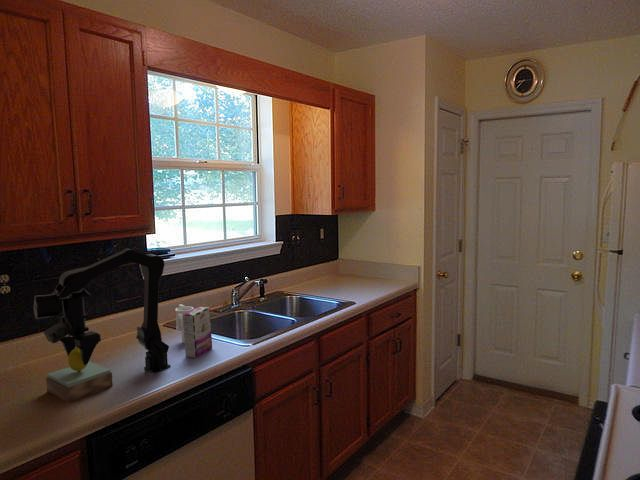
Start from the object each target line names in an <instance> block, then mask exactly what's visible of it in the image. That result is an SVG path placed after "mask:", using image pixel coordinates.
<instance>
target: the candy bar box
mask: <svg viewBox="0 0 640 480" xmlns="http://www.w3.org/2000/svg"><path fill="white" fill-rule="evenodd" d="M211 322H212V321H211V308H210V306H198V307H196V308H194V310H191V311H189V312H187V313H185V314H183V324H184V338H185V343H184V351H185V357H186V358H190V359H191V358H193V359H196V358H199V357H200V356H202V355H204V354H206V353H207V352H208V351H210V350H212V349H213V340H212V339H213V338H212V324H211Z"/></svg>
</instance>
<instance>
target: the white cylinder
mask: <svg viewBox="0 0 640 480" xmlns="http://www.w3.org/2000/svg"><path fill="white" fill-rule="evenodd" d="M194 309H195V308H194V307H193V306H190V305H189V306H188V305H187V306H185V305H184V304H181V303H180V304H178V307H176V308H175V318H176V319H175V321H176V323H175V324H176V326H175V328H176V329H175V330H176V331H177V332H181V344H185V338H184V324H183V314H185V313H187V312H189V311H191V310H194Z"/></svg>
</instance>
